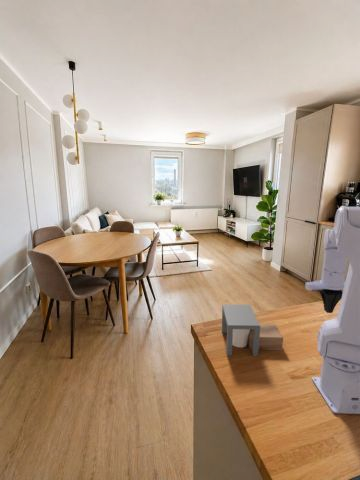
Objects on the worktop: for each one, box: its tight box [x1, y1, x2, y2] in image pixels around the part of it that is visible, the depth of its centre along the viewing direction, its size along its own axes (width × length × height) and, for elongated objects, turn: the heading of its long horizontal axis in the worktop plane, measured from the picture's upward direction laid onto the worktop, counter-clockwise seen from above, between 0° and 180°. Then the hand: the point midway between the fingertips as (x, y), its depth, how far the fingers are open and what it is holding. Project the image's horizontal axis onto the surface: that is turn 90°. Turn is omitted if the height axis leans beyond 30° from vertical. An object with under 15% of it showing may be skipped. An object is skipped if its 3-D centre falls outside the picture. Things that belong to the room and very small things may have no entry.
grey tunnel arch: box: [221, 304, 261, 357], centre depth 73 cm, size 12×9×10 cm
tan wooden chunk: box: [247, 323, 284, 351], centre depth 73 cm, size 7×10×4 cm
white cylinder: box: [232, 329, 250, 348], centre depth 73 cm, size 7×7×7 cm
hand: (328, 311), depth 72 cm, fingers closed
